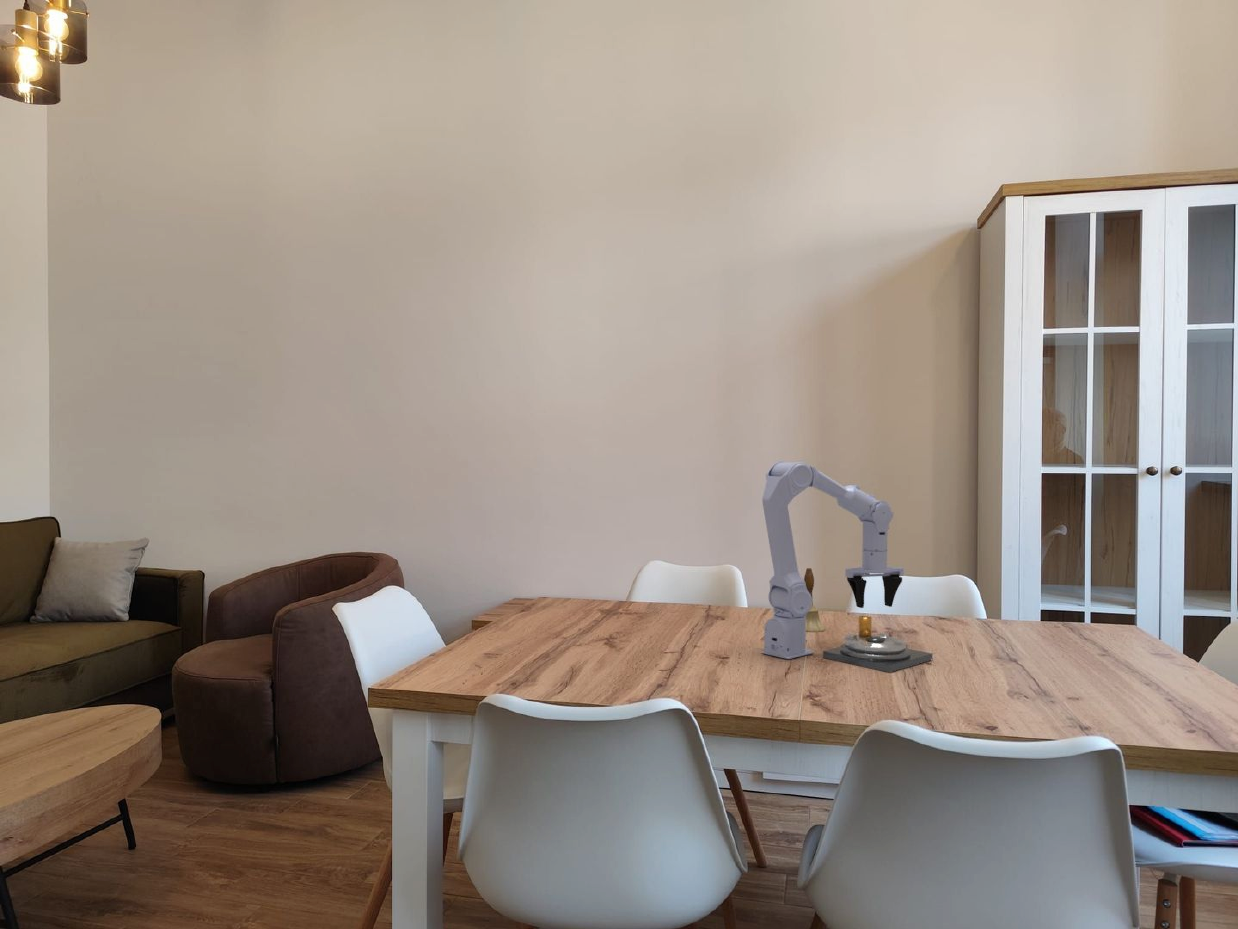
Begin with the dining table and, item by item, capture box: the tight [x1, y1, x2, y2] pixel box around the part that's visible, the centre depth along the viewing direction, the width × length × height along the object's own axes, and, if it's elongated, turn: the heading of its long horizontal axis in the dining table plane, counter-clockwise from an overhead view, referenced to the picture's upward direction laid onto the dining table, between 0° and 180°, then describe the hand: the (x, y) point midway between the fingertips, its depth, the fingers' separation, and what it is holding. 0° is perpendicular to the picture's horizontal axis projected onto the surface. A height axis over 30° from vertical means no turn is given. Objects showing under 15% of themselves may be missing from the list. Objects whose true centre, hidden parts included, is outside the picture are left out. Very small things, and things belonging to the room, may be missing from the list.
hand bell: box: [803, 567, 826, 633], centre depth 223 cm, size 8×8×16 cm
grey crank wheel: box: [844, 615, 907, 654], centre depth 189 cm, size 13×13×6 cm
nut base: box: [822, 642, 933, 674], centre depth 190 cm, size 17×17×3 cm
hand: (874, 606), depth 203 cm, fingers open, 7 cm apart
